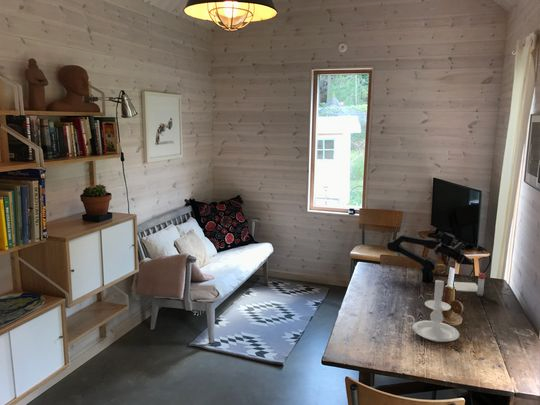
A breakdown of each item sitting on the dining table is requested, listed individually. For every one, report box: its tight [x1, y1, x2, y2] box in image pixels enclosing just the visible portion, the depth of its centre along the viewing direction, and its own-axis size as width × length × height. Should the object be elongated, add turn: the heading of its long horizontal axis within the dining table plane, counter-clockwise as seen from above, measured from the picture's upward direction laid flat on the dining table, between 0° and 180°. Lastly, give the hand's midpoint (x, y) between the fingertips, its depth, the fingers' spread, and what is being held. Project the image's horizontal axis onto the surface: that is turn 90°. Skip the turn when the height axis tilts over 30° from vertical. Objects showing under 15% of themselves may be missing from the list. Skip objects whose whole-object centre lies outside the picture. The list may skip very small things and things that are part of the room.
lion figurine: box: [432, 262, 449, 276], centre depth 290 cm, size 15×5×9 cm, turn 70°
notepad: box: [453, 281, 485, 294], centre depth 266 cm, size 17×15×1 cm
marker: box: [476, 272, 486, 297], centre depth 253 cm, size 4×4×13 cm
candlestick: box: [403, 279, 460, 343], centre depth 202 cm, size 21×25×28 cm
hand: (472, 262), depth 264 cm, fingers open, 9 cm apart
